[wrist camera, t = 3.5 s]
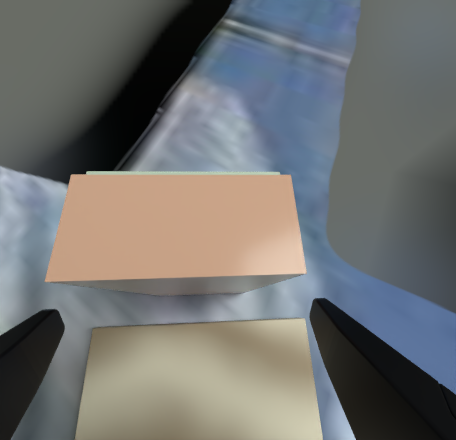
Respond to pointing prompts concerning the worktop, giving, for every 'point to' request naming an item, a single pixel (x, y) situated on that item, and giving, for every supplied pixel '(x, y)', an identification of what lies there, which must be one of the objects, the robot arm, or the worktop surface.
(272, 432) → the board
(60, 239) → the peach block
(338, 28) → the worktop surface
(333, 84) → the worktop surface
